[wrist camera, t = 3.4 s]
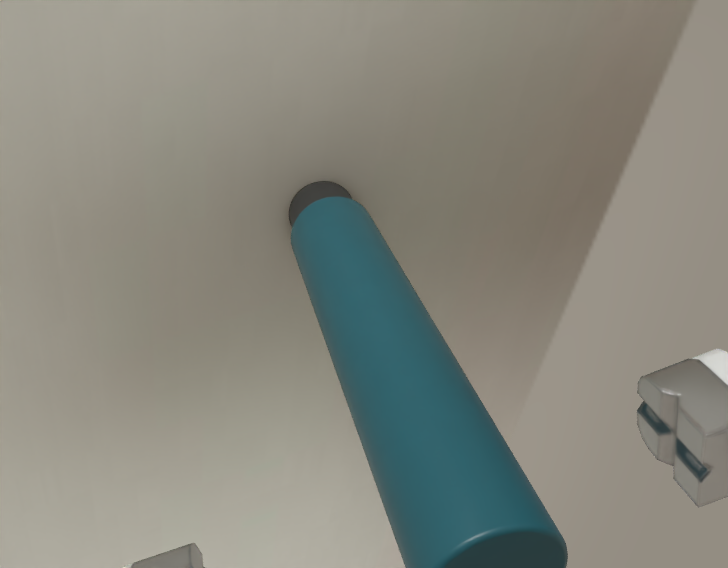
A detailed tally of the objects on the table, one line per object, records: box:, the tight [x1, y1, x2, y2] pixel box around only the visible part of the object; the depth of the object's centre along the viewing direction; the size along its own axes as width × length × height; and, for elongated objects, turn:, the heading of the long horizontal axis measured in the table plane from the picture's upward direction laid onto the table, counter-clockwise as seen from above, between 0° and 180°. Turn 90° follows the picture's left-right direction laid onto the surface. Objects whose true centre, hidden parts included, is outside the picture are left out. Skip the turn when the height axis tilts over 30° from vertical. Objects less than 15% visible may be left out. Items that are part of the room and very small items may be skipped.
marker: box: [289, 182, 568, 568], centre depth 16 cm, size 2×2×13 cm
